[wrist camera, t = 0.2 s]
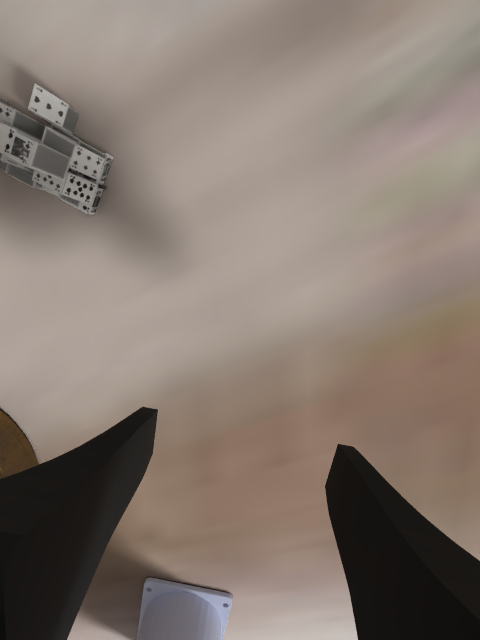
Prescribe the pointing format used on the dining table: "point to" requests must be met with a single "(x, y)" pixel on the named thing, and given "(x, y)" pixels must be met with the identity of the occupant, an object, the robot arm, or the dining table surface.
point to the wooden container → (14, 449)
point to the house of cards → (51, 152)
